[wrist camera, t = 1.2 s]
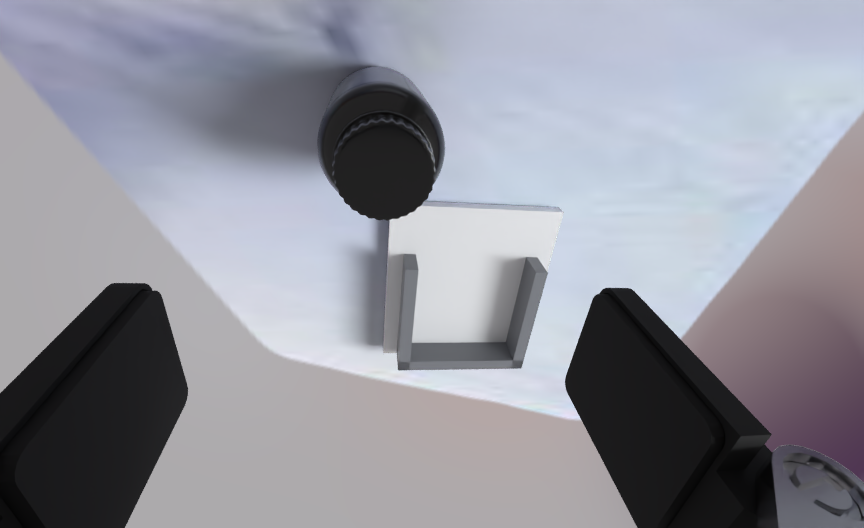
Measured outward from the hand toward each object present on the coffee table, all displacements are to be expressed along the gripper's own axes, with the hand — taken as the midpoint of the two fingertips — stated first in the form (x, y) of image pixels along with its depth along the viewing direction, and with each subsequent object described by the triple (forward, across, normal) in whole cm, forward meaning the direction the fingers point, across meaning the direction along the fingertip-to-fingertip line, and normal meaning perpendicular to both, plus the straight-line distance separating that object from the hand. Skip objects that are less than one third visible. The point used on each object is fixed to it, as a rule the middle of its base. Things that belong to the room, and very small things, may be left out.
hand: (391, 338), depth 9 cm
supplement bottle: (+23, 0, 0) cm, 23 cm away
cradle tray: (+23, -8, +13) cm, 28 cm away
